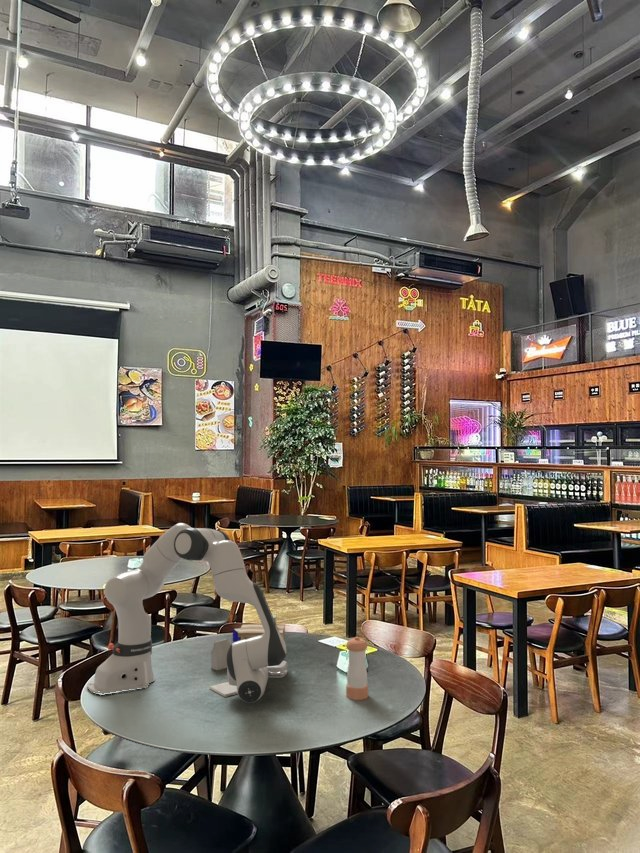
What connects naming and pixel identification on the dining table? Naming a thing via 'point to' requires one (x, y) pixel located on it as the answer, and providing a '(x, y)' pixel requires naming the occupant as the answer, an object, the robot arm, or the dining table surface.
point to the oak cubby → (257, 631)
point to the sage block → (274, 618)
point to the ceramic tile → (224, 689)
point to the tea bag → (219, 654)
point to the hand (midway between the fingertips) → (259, 661)
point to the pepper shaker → (357, 670)
